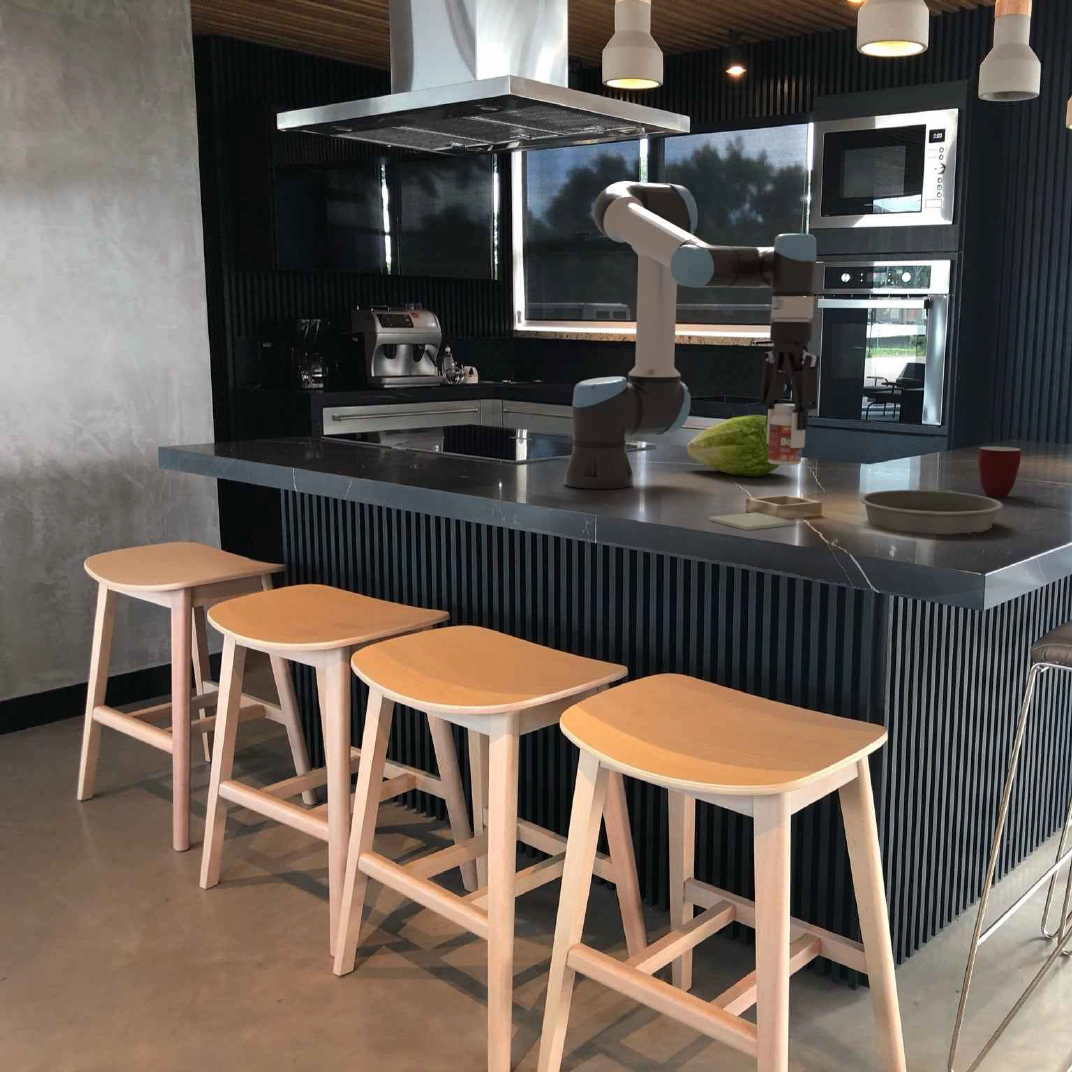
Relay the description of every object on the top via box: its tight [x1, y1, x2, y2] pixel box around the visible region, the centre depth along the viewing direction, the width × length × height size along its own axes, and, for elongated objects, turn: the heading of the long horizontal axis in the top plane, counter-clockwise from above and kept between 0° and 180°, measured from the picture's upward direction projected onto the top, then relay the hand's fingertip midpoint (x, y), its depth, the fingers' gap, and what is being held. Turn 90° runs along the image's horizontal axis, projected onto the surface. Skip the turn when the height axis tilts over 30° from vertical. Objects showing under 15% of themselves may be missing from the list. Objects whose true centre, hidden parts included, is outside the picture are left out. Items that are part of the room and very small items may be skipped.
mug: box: [977, 446, 1022, 499], centre depth 239 cm, size 11×8×10 cm
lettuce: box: [686, 414, 781, 477], centre depth 272 cm, size 17×24×14 cm
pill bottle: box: [768, 403, 803, 466], centre depth 216 cm, size 6×6×11 cm
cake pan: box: [859, 489, 1004, 535], centre depth 209 cm, size 25×25×4 cm
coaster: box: [708, 512, 796, 531], centre depth 209 cm, size 11×11×1 cm
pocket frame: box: [745, 494, 823, 520], centre depth 218 cm, size 10×10×2 cm
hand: (785, 445), depth 216 cm, fingers closed on pill bottle, 6 cm apart
